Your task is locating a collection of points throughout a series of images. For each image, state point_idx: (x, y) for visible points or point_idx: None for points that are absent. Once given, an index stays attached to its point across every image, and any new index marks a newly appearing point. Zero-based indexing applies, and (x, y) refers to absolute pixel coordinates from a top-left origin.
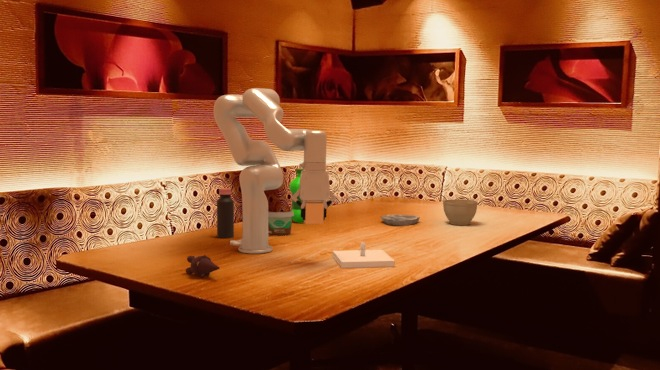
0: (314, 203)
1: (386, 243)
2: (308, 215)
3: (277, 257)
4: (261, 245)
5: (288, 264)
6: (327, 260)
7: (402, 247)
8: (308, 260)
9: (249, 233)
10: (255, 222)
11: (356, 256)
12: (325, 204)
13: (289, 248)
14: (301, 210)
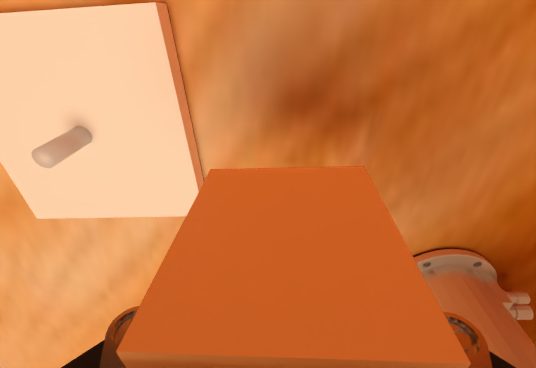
0: (294, 360)
1: (72, 315)
2: (357, 212)
3: (396, 204)
4: (439, 278)
5: (387, 96)
6: (227, 150)
7: (17, 280)
8: (297, 155)
9: (509, 318)
10: (521, 362)
11: (105, 122)
12: (121, 363)
13: None
14: None
